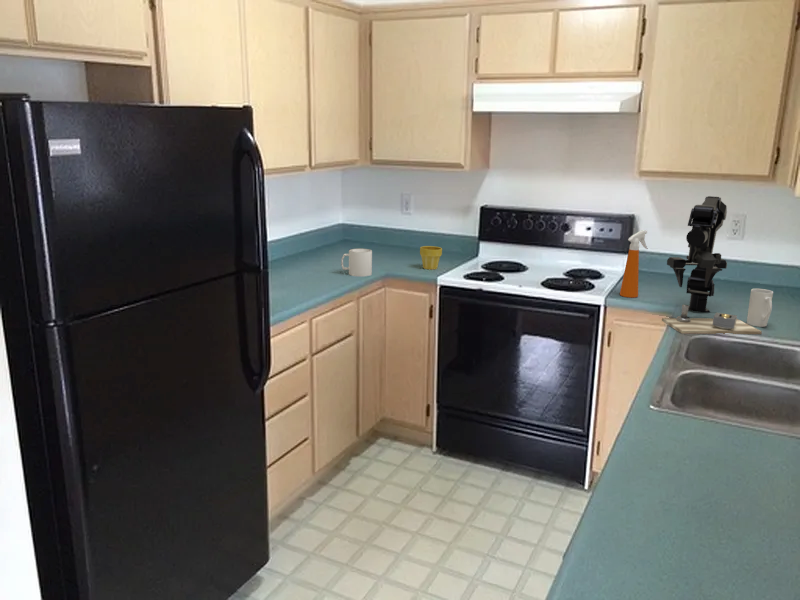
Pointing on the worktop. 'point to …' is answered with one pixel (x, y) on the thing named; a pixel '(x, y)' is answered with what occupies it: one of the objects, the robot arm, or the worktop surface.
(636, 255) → the spray bottle
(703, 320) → the board
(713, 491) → the worktop surface
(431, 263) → the plant pot
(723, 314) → the hub
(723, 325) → the grey square frame
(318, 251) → the worktop surface
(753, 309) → the mug
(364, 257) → the mug
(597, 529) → the worktop surface
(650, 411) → the worktop surface
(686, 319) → the stand
